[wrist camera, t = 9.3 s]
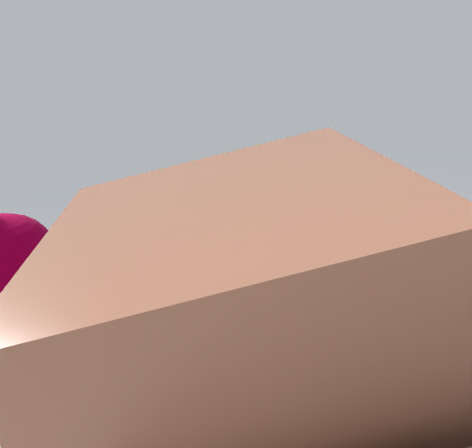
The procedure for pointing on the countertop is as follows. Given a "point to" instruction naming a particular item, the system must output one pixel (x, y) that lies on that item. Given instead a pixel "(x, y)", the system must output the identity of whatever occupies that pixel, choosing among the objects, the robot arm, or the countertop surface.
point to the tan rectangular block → (246, 308)
